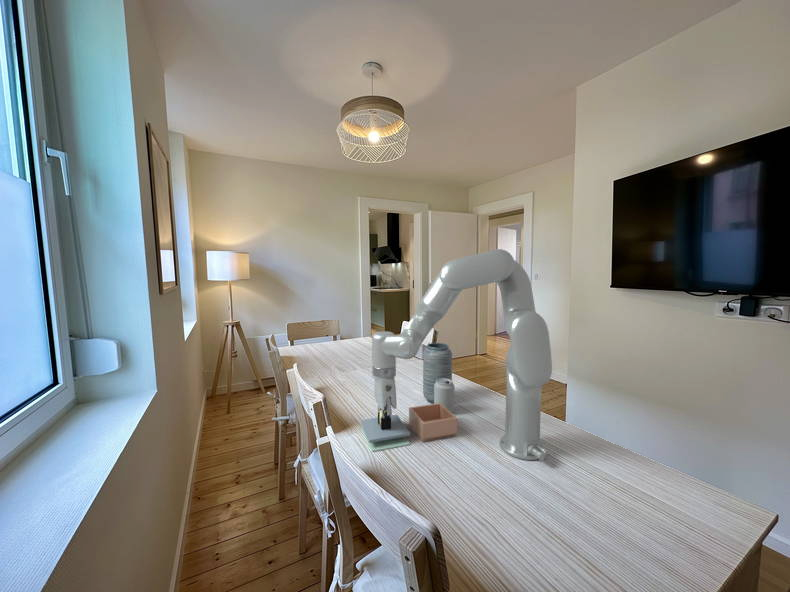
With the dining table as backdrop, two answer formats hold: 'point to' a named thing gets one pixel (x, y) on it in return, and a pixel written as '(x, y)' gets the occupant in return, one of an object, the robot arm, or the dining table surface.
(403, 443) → the mat
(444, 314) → the robot arm
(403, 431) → the lid
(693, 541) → the dining table surface
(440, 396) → the can
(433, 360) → the vase
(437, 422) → the salmon open box
